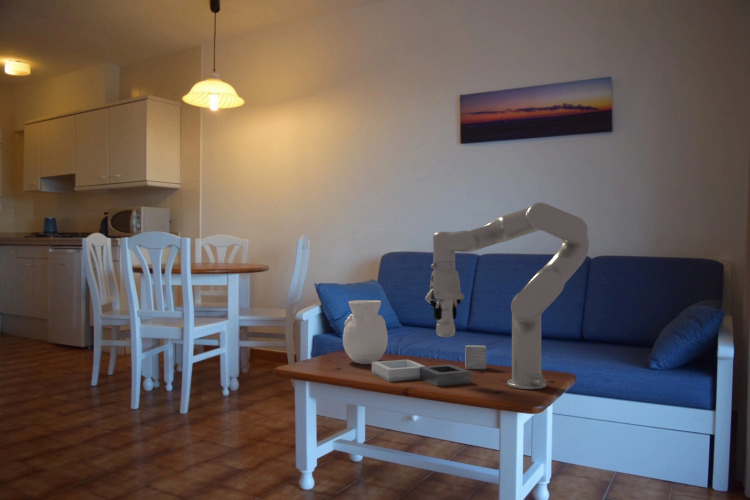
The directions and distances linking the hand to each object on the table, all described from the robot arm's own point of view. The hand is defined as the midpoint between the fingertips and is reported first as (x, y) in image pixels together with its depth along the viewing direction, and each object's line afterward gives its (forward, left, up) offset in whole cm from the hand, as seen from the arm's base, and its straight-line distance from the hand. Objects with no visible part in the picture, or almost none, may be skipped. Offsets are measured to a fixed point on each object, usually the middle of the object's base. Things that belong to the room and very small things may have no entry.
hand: (445, 318), depth 202 cm
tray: (+14, +11, -22) cm, 28 cm away
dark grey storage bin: (0, 0, -22) cm, 22 cm away
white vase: (+43, +13, -22) cm, 50 cm away
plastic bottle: (0, 0, -7) cm, 7 cm away
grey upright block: (+15, -22, -22) cm, 34 cm away
